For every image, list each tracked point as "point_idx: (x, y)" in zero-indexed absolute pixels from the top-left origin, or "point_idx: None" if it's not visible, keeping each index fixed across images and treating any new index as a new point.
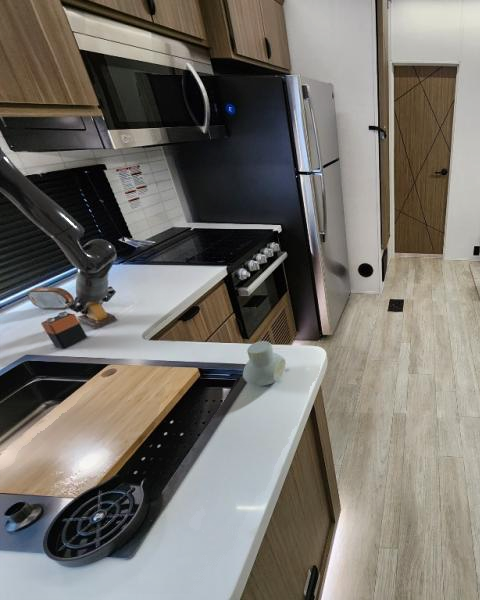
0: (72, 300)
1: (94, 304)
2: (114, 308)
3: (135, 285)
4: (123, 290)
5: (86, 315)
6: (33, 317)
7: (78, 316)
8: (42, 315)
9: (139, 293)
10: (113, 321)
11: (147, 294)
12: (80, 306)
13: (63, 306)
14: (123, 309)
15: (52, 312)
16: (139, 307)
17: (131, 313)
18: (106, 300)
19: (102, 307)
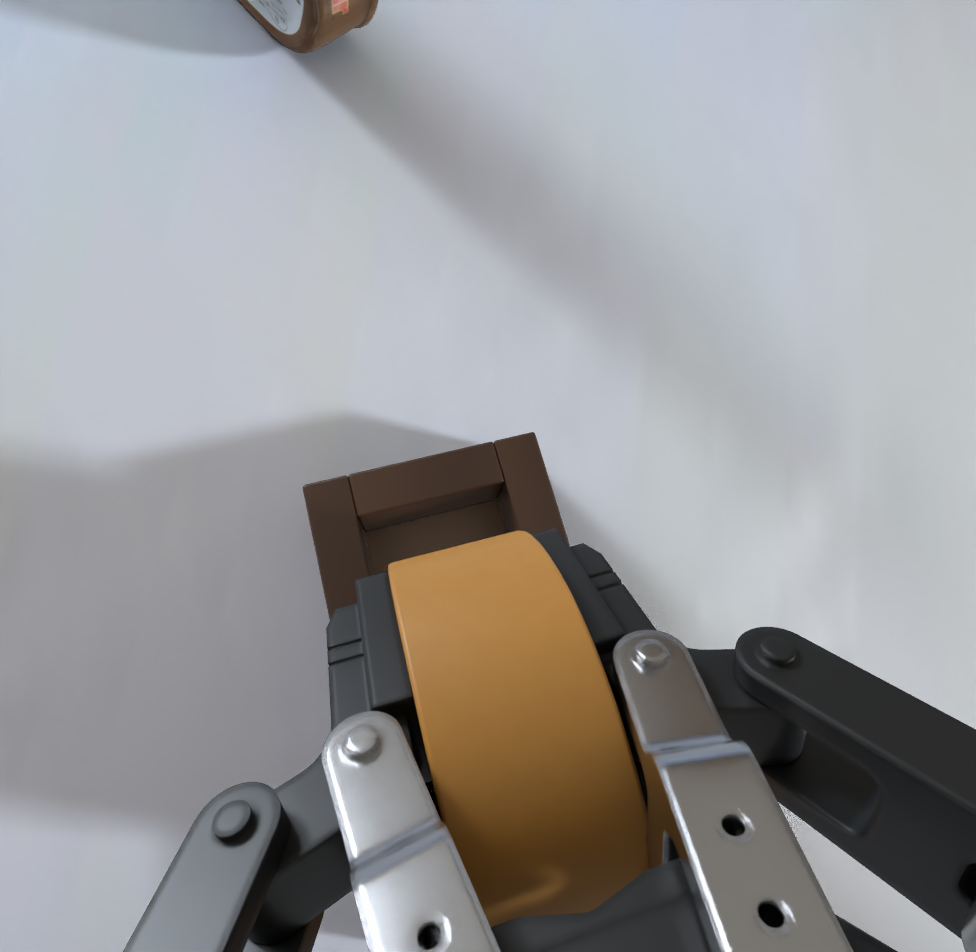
0: (362, 2)
1: (578, 899)
2: (657, 426)
3: (868, 8)
4: (768, 37)
5: (396, 509)
6: (37, 18)
7: (318, 489)
8: (105, 35)
9: (896, 228)
10: None
11: (966, 320)
12: (345, 850)
13: (278, 19)
14: (734, 541)
15: (186, 37)
16: (887, 637)
17: None
18: (771, 785)
19: None
